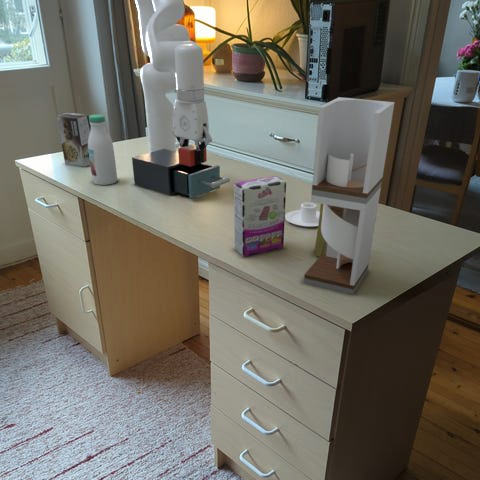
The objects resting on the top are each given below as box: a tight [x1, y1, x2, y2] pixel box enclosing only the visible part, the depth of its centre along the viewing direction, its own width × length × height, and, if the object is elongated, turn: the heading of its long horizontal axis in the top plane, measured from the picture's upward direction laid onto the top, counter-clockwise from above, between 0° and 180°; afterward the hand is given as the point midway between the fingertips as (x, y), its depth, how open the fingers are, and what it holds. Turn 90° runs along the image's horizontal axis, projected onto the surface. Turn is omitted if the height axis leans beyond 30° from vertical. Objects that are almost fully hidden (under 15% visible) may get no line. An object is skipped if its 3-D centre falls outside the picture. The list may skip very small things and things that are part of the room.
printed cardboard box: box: [56, 112, 91, 167], centre depth 178 cm, size 9×6×16 cm
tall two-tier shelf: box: [303, 96, 396, 296], centre depth 102 cm, size 11×11×35 cm
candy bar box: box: [233, 175, 287, 258], centre depth 119 cm, size 11×5×16 cm, turn 117°
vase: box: [313, 204, 327, 258], centre depth 118 cm, size 6×6×14 cm
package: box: [177, 143, 208, 167], centre depth 151 cm, size 5×7×4 cm, turn 141°
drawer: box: [170, 163, 231, 200], centre depth 155 cm, size 21×12×7 cm, turn 51°
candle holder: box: [285, 202, 320, 227], centre depth 138 cm, size 12×12×4 cm
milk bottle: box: [88, 114, 118, 186], centre depth 160 cm, size 8×8×20 cm
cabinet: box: [131, 149, 182, 196], centre depth 161 cm, size 16×14×9 cm
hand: (192, 161), depth 152 cm, fingers closed on package, 4 cm apart
